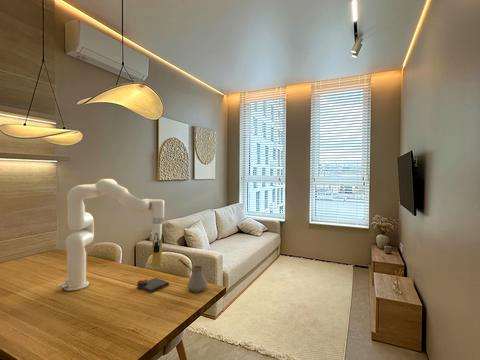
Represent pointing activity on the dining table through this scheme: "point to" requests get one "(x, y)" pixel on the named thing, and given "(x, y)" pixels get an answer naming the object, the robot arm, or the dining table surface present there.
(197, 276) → the coffee pot
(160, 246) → the vase
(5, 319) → the dining table surface
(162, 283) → the scale
